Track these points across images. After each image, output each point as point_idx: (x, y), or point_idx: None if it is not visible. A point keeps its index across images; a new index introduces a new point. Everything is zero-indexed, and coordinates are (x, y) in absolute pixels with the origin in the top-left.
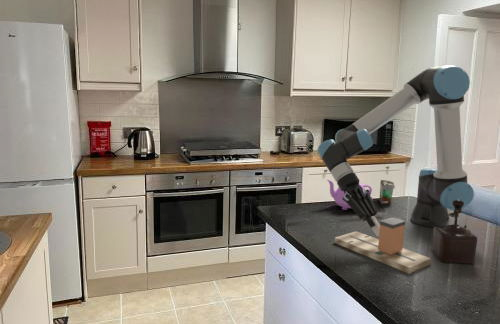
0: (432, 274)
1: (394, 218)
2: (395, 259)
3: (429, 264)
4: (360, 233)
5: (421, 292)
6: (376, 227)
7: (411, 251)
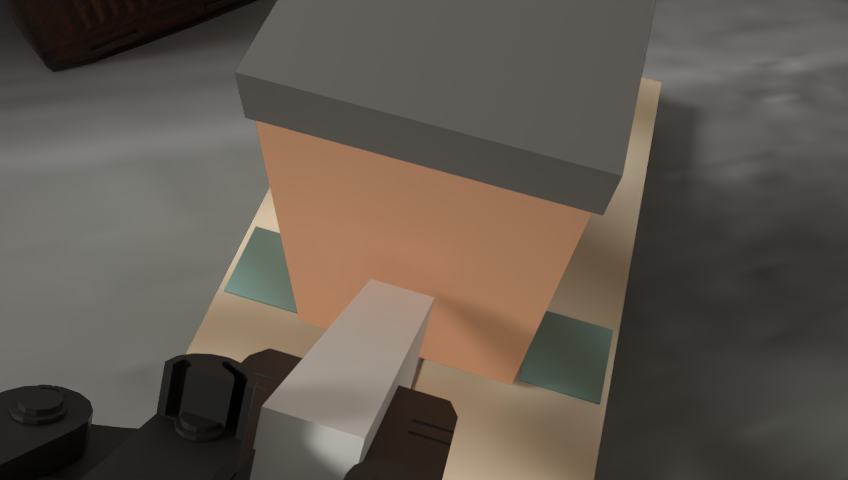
0: None
1: (289, 30)
2: None
3: None
4: None
5: (834, 24)
6: (407, 372)
7: None
